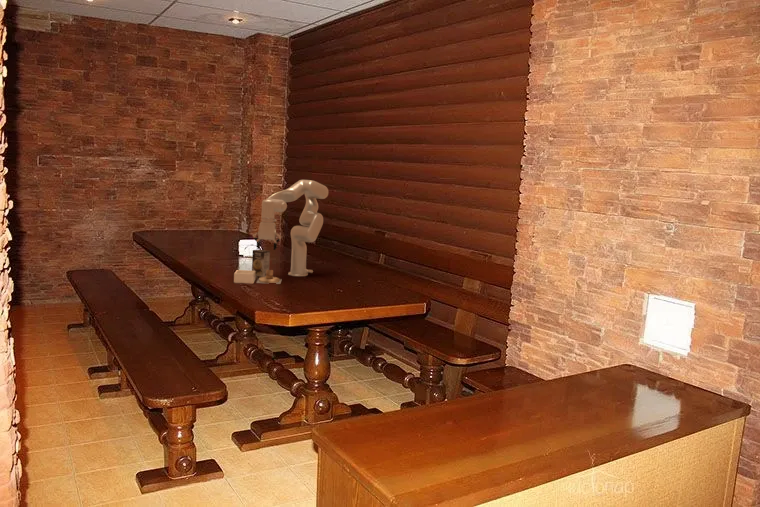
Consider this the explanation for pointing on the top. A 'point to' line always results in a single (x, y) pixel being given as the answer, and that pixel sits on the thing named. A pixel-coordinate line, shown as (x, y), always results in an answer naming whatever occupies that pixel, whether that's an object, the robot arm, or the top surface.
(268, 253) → the coffee box
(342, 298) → the top surface
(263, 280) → the lid
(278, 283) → the mat
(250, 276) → the small beige box
